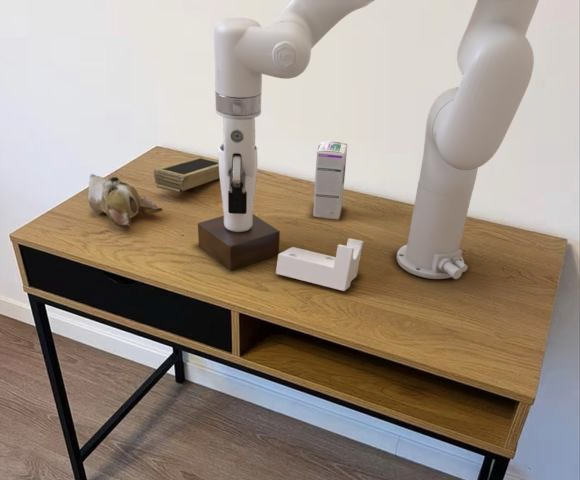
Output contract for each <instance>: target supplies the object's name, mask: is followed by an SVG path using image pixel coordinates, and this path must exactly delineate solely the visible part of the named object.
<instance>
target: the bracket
mask: <svg viewBox="0 0 580 480" xmlns="http://www.w3.org/2000/svg"><path fill="white" fill-rule="evenodd" d="M363 245H364V241H363V240H359V239H355V238H351V237H348V238H347V242H346V245H345V244H340V243H339V244H338V245H337V249H336V254H335V256H332V255H327V254H325V253H320V252H315V251H311V250H309V249H302V248H299V247H295V246H291V247H289V248H287V249H286V250H284V251H282V252H279V254H278V255H277V259H276V260H277V261H276V269H275V274H276V275H280V276H284V277H287V278H292V279H296V280H300V281H303V282H308V283H312V284H314V285H319V286H323V287H327V288H331V289H335V290H339V291H342V292H345V291H346V290H348V289H349V288H350V287H351V282H352V281H353V280H354V279H355V278H357V276H358V270H359V265H360V260H361V255H362V249H363Z"/></svg>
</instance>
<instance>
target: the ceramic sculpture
mask: <svg viewBox="0 0 580 480" xmlns="http://www.w3.org/2000/svg"><path fill="white" fill-rule="evenodd" d="M89 175H90V176H89V180H88V181H89V182H88V192H87V194H88V195H87V201H88V204H89V207H90V209H91V210H93V212H95V213H101V212H103V213H105V214H106V216H107V217H108V219H109V220H110V221H111V223H113V224H114V225H115V226H117V227H120V228H130V227H131V221H132V220H131V219H132V218H134V217H135V216H136V215H137V214H138V212H139V213H141V214H144V215H153V214H157V213H161V212H163V210H164V209H163V208H162V207H158V206H157V205H156V204H155V203H153V200H151V199H150V198H147V197H146V196H145V195H139V193H138V191H137V189H136V188H135V187H134V186H132V185H130V184H129V183H126V182H122V181H121V179H120V178H119V177H117V176H112V177H110V178H105V177H103V176H99V175H96V174H93V173H91V174H89Z"/></svg>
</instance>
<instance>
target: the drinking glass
mask: <svg viewBox="0 0 580 480" xmlns="http://www.w3.org/2000/svg"><path fill="white" fill-rule="evenodd" d="M233 159H234V154H233ZM218 161H219V177H220V178H219V184H220V193H221V202H222V204H221V205H222V213H223V216H224V226H225V227H226V228H227V229H228V230H230V231H233V232H244V231H247V230H249V229H250V228H251V227H252V225H253V214H254V208H255V198H256V197H255V196H256V189H257V188H256V187H257V179H258V163H259V161H258V147H257V145H255V155H254V175H253V177H251V178H250V176H246V174H245V176H246V178H245V192H247V212H246V214H233V213H229V212H228V191H229V177H228V176H227V175H226V174H225V162H224V143H223V142H222V143H221V144H220V145H219V146H218ZM231 168H232V167H231ZM229 171H230V170H229ZM232 174H233V169H232ZM240 175H243V170H242V167H241V173H240ZM240 182H242V178H240Z"/></svg>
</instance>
